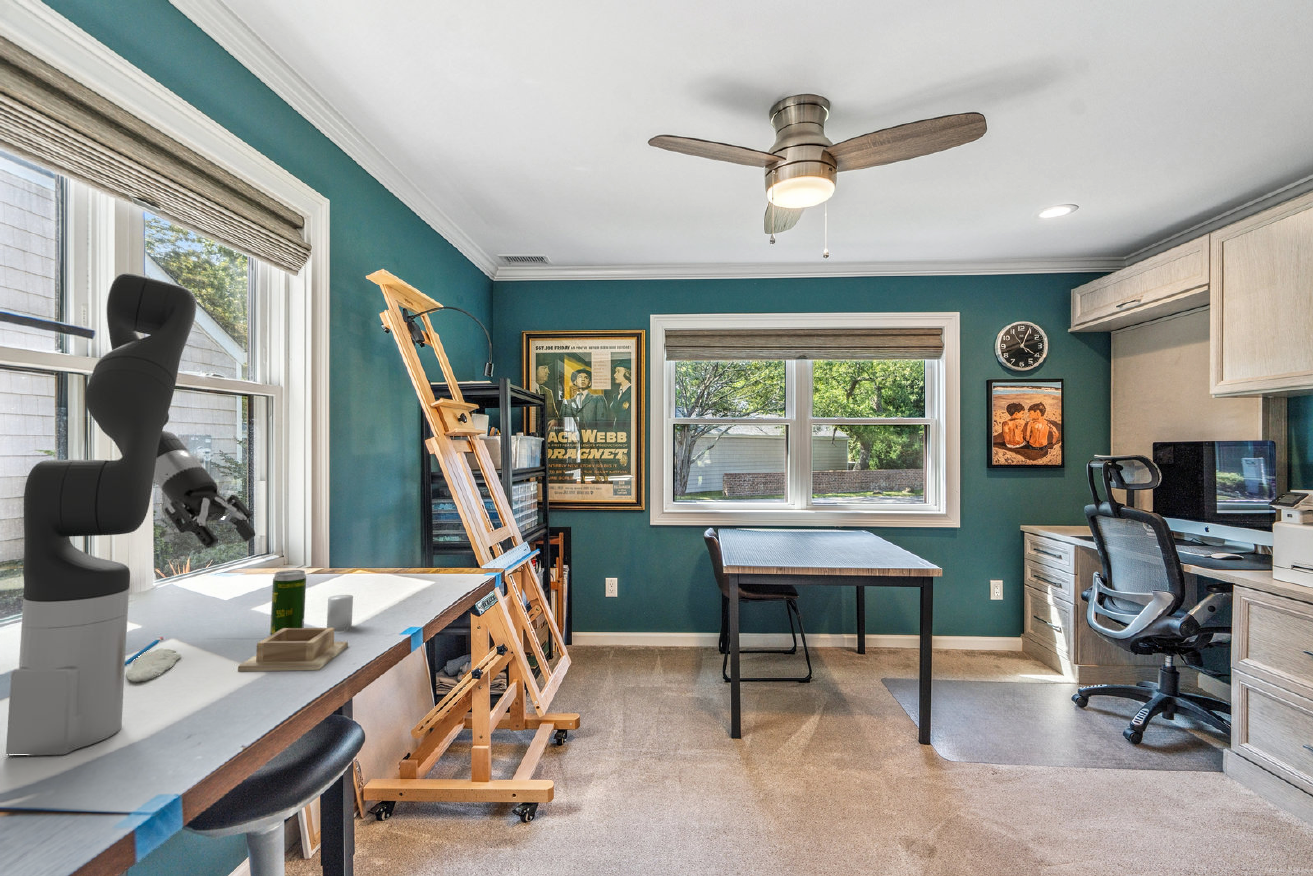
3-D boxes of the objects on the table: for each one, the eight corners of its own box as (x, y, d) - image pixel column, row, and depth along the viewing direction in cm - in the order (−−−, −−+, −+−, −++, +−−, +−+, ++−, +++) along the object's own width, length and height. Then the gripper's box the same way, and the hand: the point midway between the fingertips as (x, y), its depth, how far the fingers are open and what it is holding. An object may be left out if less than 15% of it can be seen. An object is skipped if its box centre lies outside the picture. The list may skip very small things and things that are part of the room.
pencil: (163, 640, 109) (163, 637, 109) (119, 673, 93) (119, 668, 93) (158, 641, 108) (158, 637, 108) (112, 673, 93) (113, 669, 93)
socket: (318, 670, 96) (319, 646, 96) (237, 671, 94) (239, 646, 94) (347, 646, 108) (348, 624, 108) (276, 647, 106) (277, 625, 106)
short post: (346, 630, 117) (348, 599, 117) (322, 631, 116) (324, 599, 116) (355, 624, 121) (356, 594, 121) (332, 624, 121) (333, 594, 121)
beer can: (301, 631, 116) (304, 568, 116) (305, 638, 111) (308, 573, 112) (268, 635, 112) (271, 571, 113) (271, 643, 108) (274, 576, 109)
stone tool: (141, 661, 100) (113, 688, 86) (142, 648, 100) (115, 673, 87) (184, 658, 102) (164, 684, 89) (186, 645, 103) (165, 669, 89)
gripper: (160, 466, 108) (214, 533, 106) (227, 464, 122) (275, 523, 121) (133, 494, 109) (186, 561, 107) (203, 489, 123) (250, 548, 121)
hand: (233, 541), depth 114 cm, fingers open, 8 cm apart
